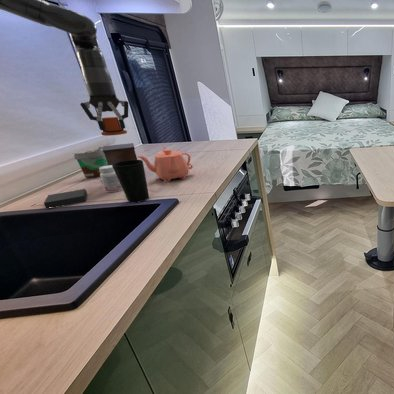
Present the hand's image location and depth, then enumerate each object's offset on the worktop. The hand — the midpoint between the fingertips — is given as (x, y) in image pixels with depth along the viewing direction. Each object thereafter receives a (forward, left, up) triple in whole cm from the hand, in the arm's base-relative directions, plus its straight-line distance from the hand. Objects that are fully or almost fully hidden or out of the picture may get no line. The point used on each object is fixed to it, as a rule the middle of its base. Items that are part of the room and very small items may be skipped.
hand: (113, 130), depth 108 cm
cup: (+2, -31, -18) cm, 36 cm away
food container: (-8, +10, -18) cm, 22 cm away
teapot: (+13, -13, -18) cm, 26 cm away
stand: (-16, -19, -18) cm, 31 cm away
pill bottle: (-4, -16, -18) cm, 24 cm away
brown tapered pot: (0, 0, -18) cm, 18 cm away
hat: (0, 0, -1) cm, 1 cm away
